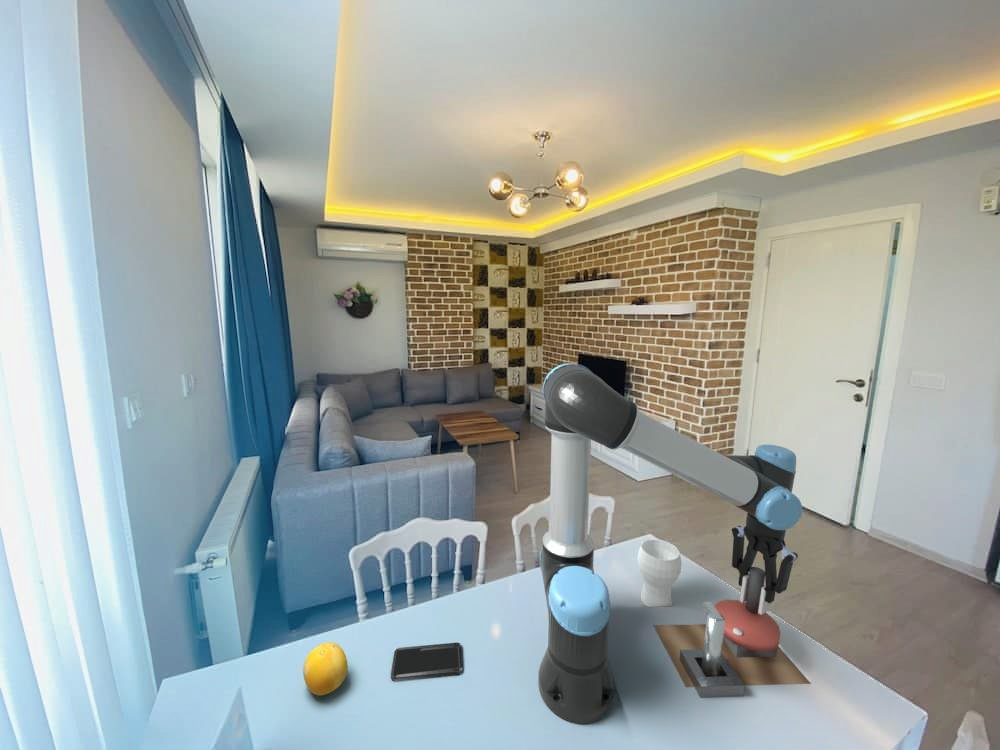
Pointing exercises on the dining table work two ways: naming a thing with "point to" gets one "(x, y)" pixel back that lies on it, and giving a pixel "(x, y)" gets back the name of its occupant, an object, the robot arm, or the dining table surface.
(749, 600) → the handwheel
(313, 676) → the fruit
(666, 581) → the cup
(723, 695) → the eye
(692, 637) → the board
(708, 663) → the hook peg
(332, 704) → the dining table surface
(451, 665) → the phone
